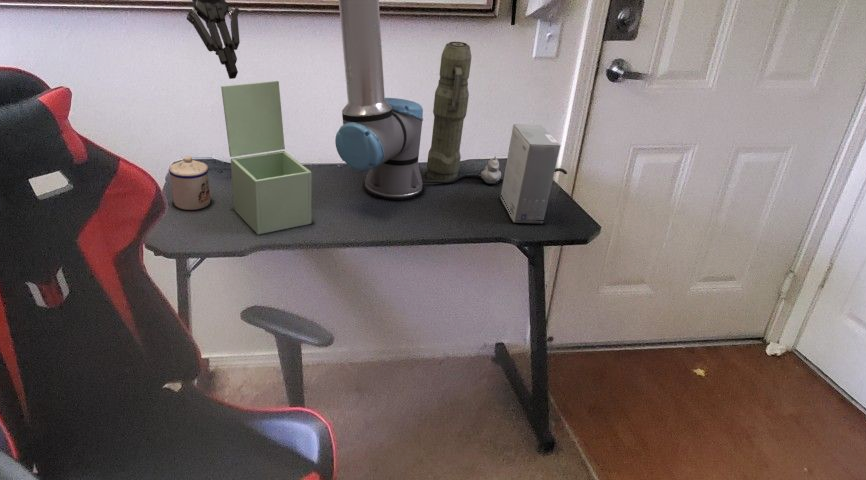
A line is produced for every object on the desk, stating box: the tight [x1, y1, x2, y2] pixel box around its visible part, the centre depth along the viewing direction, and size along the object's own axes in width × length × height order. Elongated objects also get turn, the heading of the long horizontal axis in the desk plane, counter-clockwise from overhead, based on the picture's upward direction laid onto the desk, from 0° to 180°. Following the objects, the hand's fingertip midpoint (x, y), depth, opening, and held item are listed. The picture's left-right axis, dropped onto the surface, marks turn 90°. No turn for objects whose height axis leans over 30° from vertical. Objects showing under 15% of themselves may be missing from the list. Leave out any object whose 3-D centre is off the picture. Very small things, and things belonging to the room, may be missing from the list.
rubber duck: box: [480, 155, 502, 185], centre depth 181 cm, size 5×7×8 cm
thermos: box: [426, 41, 472, 180], centre depth 175 cm, size 9×12×35 cm
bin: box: [230, 150, 313, 235], centre depth 155 cm, size 15×14×13 cm
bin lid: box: [220, 80, 286, 158], centre depth 153 cm, size 15×14×1 cm
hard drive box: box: [499, 123, 562, 224], centre depth 163 cm, size 16×8×20 cm, turn 4°
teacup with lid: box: [168, 155, 211, 211], centre depth 160 cm, size 12×9×12 cm
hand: (233, 75), depth 157 cm, fingers closed
